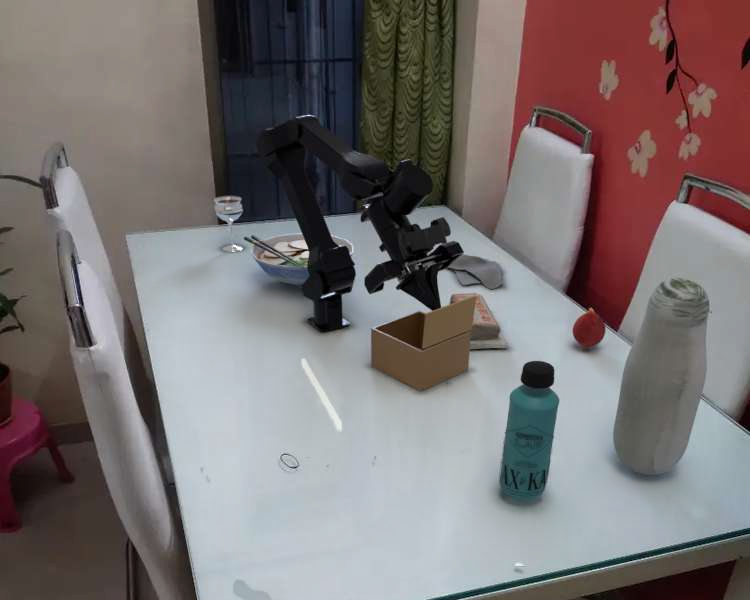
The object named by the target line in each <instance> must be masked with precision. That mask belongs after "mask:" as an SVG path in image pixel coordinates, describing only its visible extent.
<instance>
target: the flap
mask: <svg viewBox="0 0 750 600" xmlns="http://www.w3.org/2000/svg"><path fill="white" fill-rule="evenodd" d="M475 303H476V295H474V296H471V297H469V298H466V299H463V300H461V301H458V302H455V303H452V304H450V305H449V304H447V305H445V306H441V308H439V309H436V310H434V311H432V310H430V311H429V312H425V313H426V314H425V324H424V334H423V344H422V348H423V349H424V348H427V347H429V346H432V345H434V344H437V343H439V342H442V341H444V340H446V339H449V338H451V337H454V336H456V335H459V334H461V333H464V332H466V331H469V330H471V329H472V325H473V318H474V310H475Z"/></svg>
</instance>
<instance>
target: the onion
mask: <svg viewBox="0 0 750 600" xmlns="http://www.w3.org/2000/svg"><path fill="white" fill-rule="evenodd" d="M605 324H606V323H605V322H604V320H603V318H602V317H601V316H600V315H599V314H597V312H596V311H595V310H594V309H593V308H592V307H589V308H588V310H587V312H586V313H583V314H582V315H580V316H579V317H578V318H577V319H576V320H575V322H574V324H573V326H572V336H573V338H574V340H575V341H576V342H577V343H578V345H580V347H581V348H582V349H584V350H588V349H590V348H593V347H595V346H597V345H599V344H600V343H601V342H602V340H604V337H605V335H606V325H605Z"/></svg>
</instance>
